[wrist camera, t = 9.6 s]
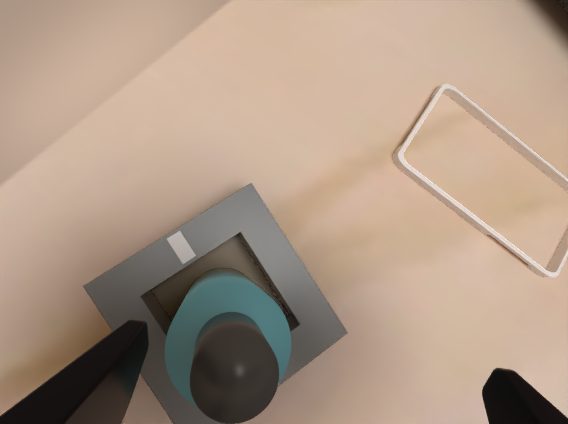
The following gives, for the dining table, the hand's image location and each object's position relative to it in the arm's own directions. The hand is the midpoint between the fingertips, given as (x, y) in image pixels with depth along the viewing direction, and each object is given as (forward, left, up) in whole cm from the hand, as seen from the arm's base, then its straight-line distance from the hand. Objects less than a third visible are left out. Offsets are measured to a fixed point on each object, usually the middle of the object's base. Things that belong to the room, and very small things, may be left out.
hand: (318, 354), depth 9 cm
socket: (-2, +1, -14) cm, 14 cm away
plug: (-2, +1, -14) cm, 14 cm away
